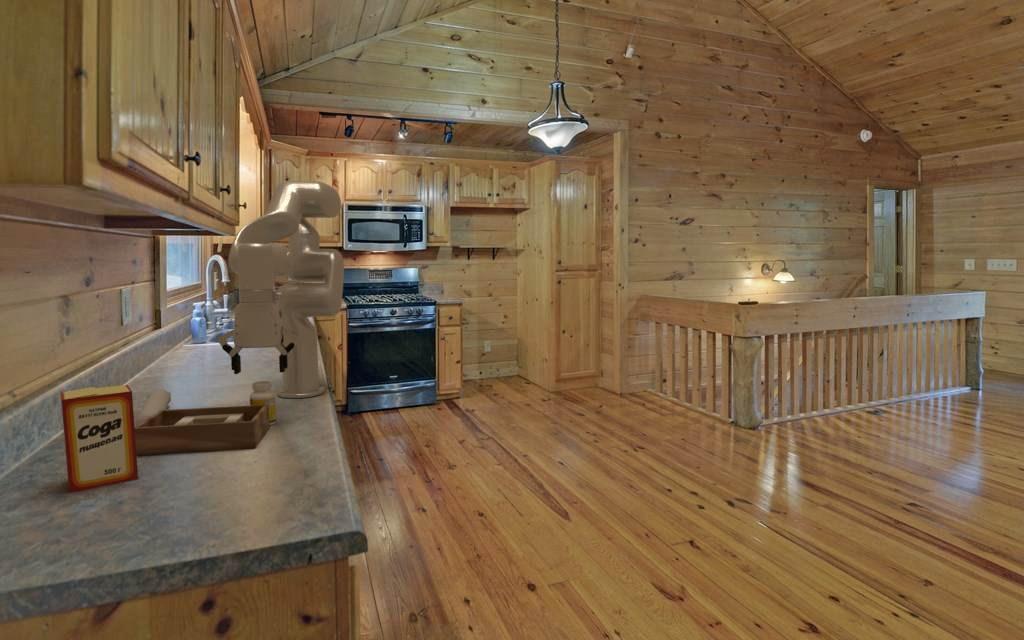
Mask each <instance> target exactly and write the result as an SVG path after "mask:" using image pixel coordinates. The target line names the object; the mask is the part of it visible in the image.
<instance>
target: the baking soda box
mask: <svg viewBox="0 0 1024 640" xmlns="http://www.w3.org/2000/svg"><path fill="white" fill-rule="evenodd" d="M59 395H60V404H61V413H62V416H61V417H62V425H63V426H62V427H63V438H64V451H65V461H66V472H67V484H68V490H69V494H71V493H76V492H81V491H86V490H90V489H91V490H92V489H95V488H101V487H104V486H105V487H106V486H111V485H115V484H120V483H124V482H129V481H134V479H135V480H138V479H139V472H138V470H139V469H138V456H137V454H136V440H135V416H134V415H135V414H134V403H133V402H134V401H133V391H132V389H131V388H130V386H129V385H128V384H121V385H113V386H112V385H111V386H102V387H96V386H92V387H86V388H80V389H75V390H68V391H62V392H60V394H59Z"/></svg>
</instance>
